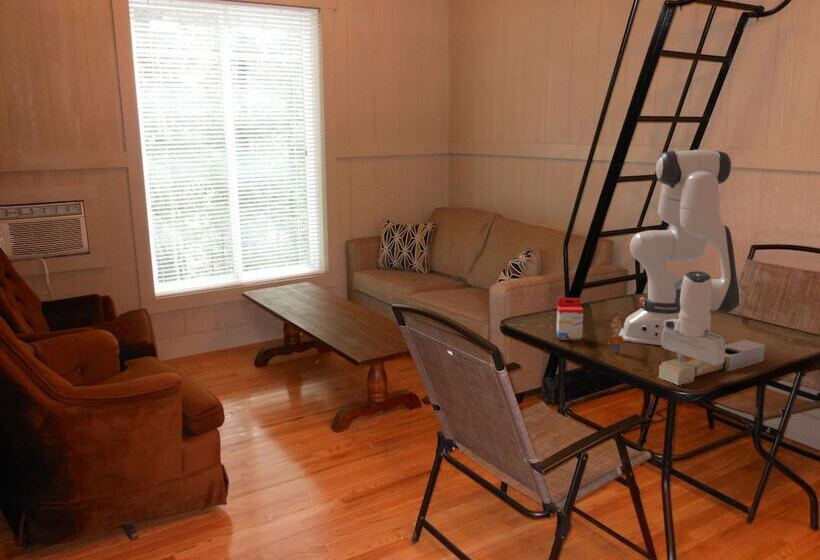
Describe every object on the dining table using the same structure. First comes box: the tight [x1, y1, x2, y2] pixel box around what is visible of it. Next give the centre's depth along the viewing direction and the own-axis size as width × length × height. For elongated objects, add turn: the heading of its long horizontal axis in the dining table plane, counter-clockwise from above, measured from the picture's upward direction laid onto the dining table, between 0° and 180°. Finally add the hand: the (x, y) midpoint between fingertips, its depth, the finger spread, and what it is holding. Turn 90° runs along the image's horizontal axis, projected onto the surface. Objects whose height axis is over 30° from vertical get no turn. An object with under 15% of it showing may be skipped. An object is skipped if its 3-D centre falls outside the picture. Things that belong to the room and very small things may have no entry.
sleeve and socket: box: [658, 339, 766, 386], centre depth 208 cm, size 40×7×5 cm, turn 119°
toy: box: [607, 316, 625, 354], centre depth 224 cm, size 5×3×13 cm, turn 59°
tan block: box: [686, 353, 730, 378], centre depth 205 cm, size 22×4×4 cm, turn 119°
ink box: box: [555, 297, 584, 339], centre depth 240 cm, size 8×5×15 cm, turn 88°
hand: (690, 370), depth 203 cm, fingers closed on tan block, 4 cm apart
